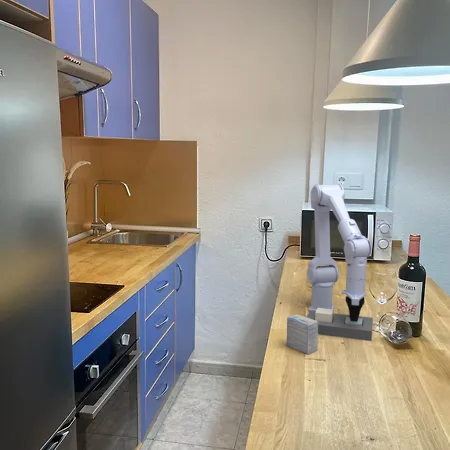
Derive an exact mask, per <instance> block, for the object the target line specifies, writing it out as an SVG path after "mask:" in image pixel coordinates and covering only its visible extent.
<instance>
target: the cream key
mask: <svg viewBox="0 0 450 450" xmlns="http://www.w3.org/2000/svg"><path fill="white" fill-rule="evenodd" d="M333 313H334V308H333V309H325V308H317V310H316V312H315V320H316V321H322V322H331V323H332V320H333Z"/></svg>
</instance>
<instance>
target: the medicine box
mask: <svg viewBox="0 0 450 450" xmlns="http://www.w3.org/2000/svg"><path fill="white" fill-rule="evenodd" d="M318 336H319V334H318V321H316V320H313V319H310V318H307V316H304V315H301V314H294V315H290V316H288V317H287V318H286V347H289V346H290V347H289V348H291V347H292V349H294V348H295V350H296V349H297V350H296V351H298V352H302V353H304V354H307V355H310V354H312V353H315V352H316V351H318V340H319V337H318Z"/></svg>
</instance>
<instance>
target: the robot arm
mask: <svg viewBox="0 0 450 450" xmlns="http://www.w3.org/2000/svg"><path fill="white" fill-rule="evenodd" d="M345 193H346V192H345V188H344V187H343V185H342V184H341V183H339V184H338V183H337V184H316V183H315V184H314V185H313V187H312V188H311V190H310V207H311V209H312V210H313V211H314V214H313V215H314V244H315V246H314V247H315V249H314V250H315V256H314V257H313V258H312V259H311V260H309V262H308V263H307V271H306V278H307V280H308V282H309V284H311V300H310V301H311V303H310V305H309V307H308V312H309V311H316V310H317V308H325V309H333V310H334V307H335V303H333V291H334V286H336V283H337V282H338V280H339V278H340V277H339V276H340V273H339V269H338V263H337V261H336V260H334V258H332V256H331V238H330V237H331V234H330V233H331V231H330V230H331V229H330V225H331V224H330V212H331V211H332V212H333V214H334V216H335V218H336V220H337V221H338V224H337V225H338V226H337V230H338V231H339V234H340V235H341V239H342V241H343V243H344V246H343V252H344V259H345V263H346V274H345V275H346V276H345V277H346V278H345V279H346V280H345V289H342V290H341V294H342V295H345V300H344V301H345V304H346V306H347V308H348V315H349V316H350V321H356V322H357V321H358V318H359V316H360V314H361V311H362V308H363V306H364V304H365V303H366V302H365V301H366V300H365V297H366V295H367V294H366V284H367V283H366V279H367V265H368V264H367V263H368V260H367V259H368V258H369V257H370V256H371V255H372V244H371V242H370V239H368V238H367V237H366V236H364V235H362V233H361V231H360V229H359V228H360V227H358V224H357V222H356V221H355V219H353V218H350V215H349V212H348V209H347V207H346V204H345V197H346V194H345Z"/></svg>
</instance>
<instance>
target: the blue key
mask: <svg viewBox="0 0 450 450" xmlns="http://www.w3.org/2000/svg"><path fill="white" fill-rule="evenodd" d="M362 322H363V319H360V318H358V321H357V322H356V321H350V317H346V320H345V324H348V325H356V326H362Z"/></svg>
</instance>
